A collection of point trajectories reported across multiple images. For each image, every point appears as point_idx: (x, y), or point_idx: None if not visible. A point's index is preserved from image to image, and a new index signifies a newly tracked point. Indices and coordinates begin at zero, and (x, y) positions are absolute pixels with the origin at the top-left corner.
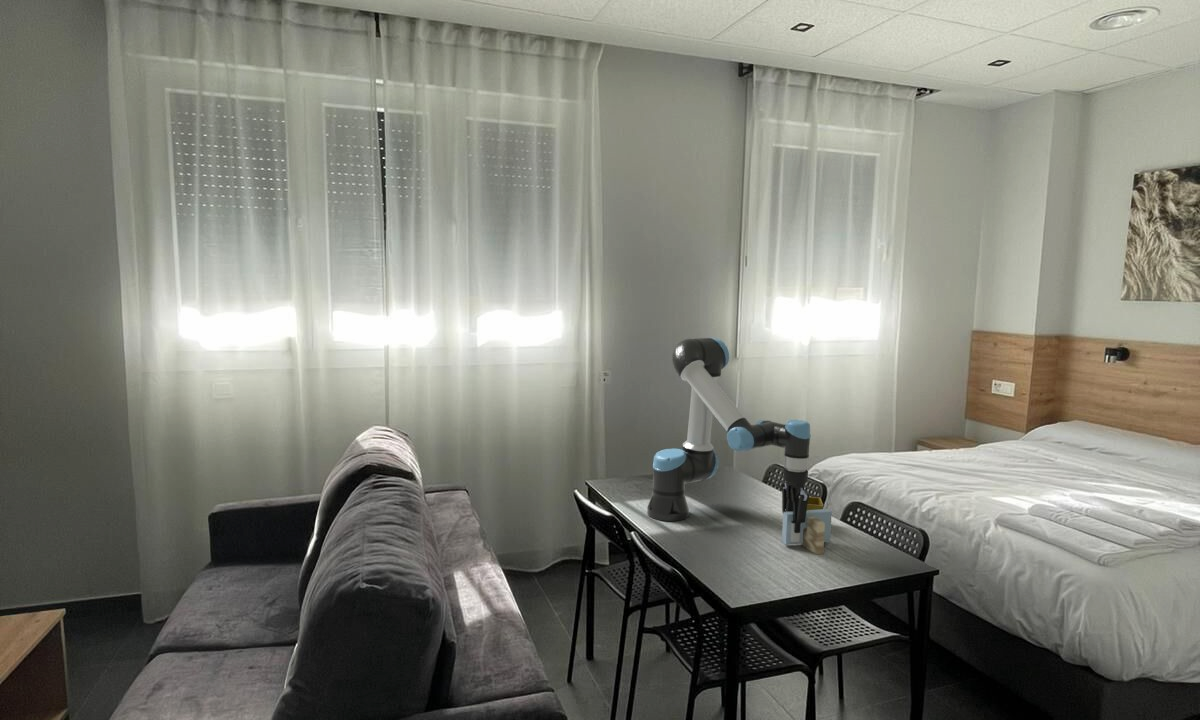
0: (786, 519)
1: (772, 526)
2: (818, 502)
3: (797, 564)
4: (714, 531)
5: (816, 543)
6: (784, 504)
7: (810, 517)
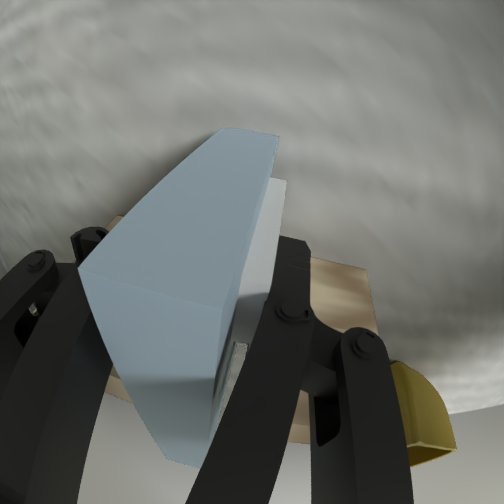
0: (138, 216)
1: (480, 280)
2: None
3: (49, 70)
4: None
5: None
6: (351, 461)
7: (124, 388)
